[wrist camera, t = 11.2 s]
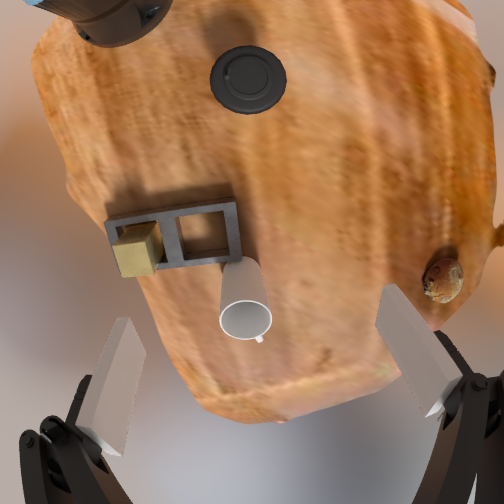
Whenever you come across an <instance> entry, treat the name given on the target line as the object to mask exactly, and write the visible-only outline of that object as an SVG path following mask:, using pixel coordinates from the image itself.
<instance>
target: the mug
mask: <svg viewBox="0 0 504 504" xmlns="http://www.w3.org/2000/svg"><path fill="white" fill-rule="evenodd" d="M242 257H243V260H237V261H229V262H227V264H226V265H225V267H224V269H223V278H222V290H221V303H220V319H219V322H220V326H221V328H222V329H223V331H224V332H225V333H226V334H228V335H229V336H231V337H234V338H237V339H244V340H246V339H253V338H255V339H256V341H257V342H262V341H263V334H264V333H265V332H266V331H267V330H268V329H269V327H270V326H271V323H272V315H271V310H270V305H269V301H268V296H267V292H266V288H265V284H264V279H263V275H262V272H261V268H260V266H259V264H258V263H257V262H256V261H255V260H254V259H252V258H250V257H245V256H242Z"/></svg>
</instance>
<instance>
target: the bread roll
mask: <svg viewBox="0 0 504 504" xmlns="http://www.w3.org/2000/svg"><path fill="white" fill-rule="evenodd" d="M463 278H464V275H463V270H462V267H461V265H460V263H459V262H458V261H457V260H455V259H453V258H450V257H447V258H444V259H440V260H438V261H436V262H435V263H434V264H433V265H432V266H431V267H430V268H429V270H428V271H427V273H426V276H425V279H424V284H423V286H424V291H425V294H426V295H428V296H429V297H430V299H431V300H434V301H436V302H440V303H446V302H449V301H451V300H452V299H453V298H454V297H455V296H456V295H457V294H458V292H459V291H460V289H461V286H462V283H463Z"/></svg>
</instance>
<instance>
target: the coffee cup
mask: <svg viewBox="0 0 504 504" xmlns="http://www.w3.org/2000/svg"><path fill="white" fill-rule="evenodd" d="M286 83H287V79H286V71H285V69H284V67H283V65H282V63H281V61H280V60H279V59H278V58H277V57H276V56H275V55H274V54H273V53H271V52H269V51H267V50H265V49H263V48H261V47H256V46H239V47H236V48H233V49H231V50H228V51H226V52H225V53H224V54H223V55H221V56H220V57H219V58H218V59H217V61H216V62H215V64H214V65H213V67H212V70H211V74H210V86H211V90H212V92H213V94H214V96H215V98H216V100H217V101H218V102H219V103H220V104H222V105H223V106H224V107H225V108H227V109H229V110H231V111H233V112H235V113H240V114H246V115H249V114H258V113H261V112H263V111H266V110H268V109H270V108H271V107H273V106H274V105H275V104H276V103H278V102H279V100H280V99H281V97H282V95H283V94H284V92H285V88H286Z"/></svg>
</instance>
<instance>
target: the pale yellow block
mask: <svg viewBox="0 0 504 504" xmlns="http://www.w3.org/2000/svg"><path fill="white" fill-rule="evenodd" d="M112 247H113V251H114V254H115V257H116V260H117V263H118V266H119V269H120V272H121V275H122V277H123V278H124V277H134V276H144V275H154V273H155V271H156V269H157V266H158V264H159V262H160V259H161V257H162V255H163V253H164V249H163V245H162V241H161V237H160V233H159V229H158V224H157V223H150V224H143V225H137V226H130V227H128V228H127V229H126V230H125V231H124V232H123V234H122V235H121V236H120V237H119V238H118V240H117V241H116V242H115V243H114V245H113V246H112Z"/></svg>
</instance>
